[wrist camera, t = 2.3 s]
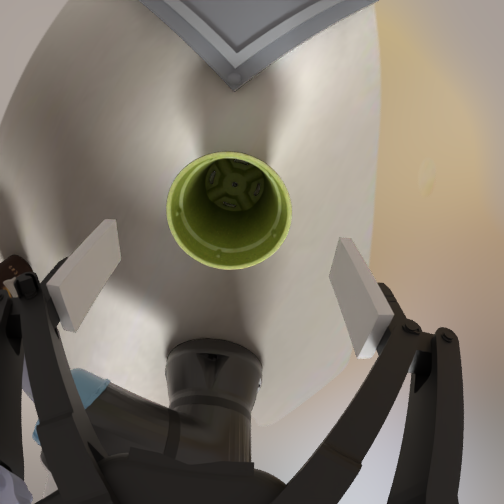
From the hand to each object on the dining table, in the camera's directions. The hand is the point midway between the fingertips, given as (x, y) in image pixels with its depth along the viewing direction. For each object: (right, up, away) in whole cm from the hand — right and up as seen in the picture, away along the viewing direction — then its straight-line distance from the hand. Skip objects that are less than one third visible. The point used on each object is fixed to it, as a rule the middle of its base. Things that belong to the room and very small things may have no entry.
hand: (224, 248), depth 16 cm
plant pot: (0, +7, +12) cm, 14 cm away
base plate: (+1, +26, +1) cm, 26 cm away
